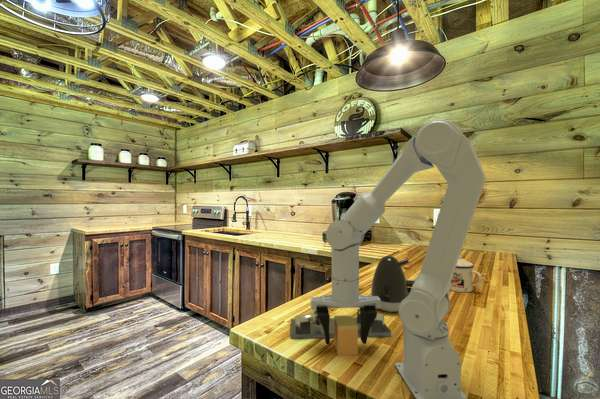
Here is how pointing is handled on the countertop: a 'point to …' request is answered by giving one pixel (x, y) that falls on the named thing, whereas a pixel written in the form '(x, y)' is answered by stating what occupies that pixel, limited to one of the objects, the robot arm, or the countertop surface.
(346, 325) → the block
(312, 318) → the shaft
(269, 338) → the countertop surface
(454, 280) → the teacup with lid
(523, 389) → the countertop surface
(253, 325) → the countertop surface
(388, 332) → the base plate
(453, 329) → the countertop surface
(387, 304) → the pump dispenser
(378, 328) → the shaft
